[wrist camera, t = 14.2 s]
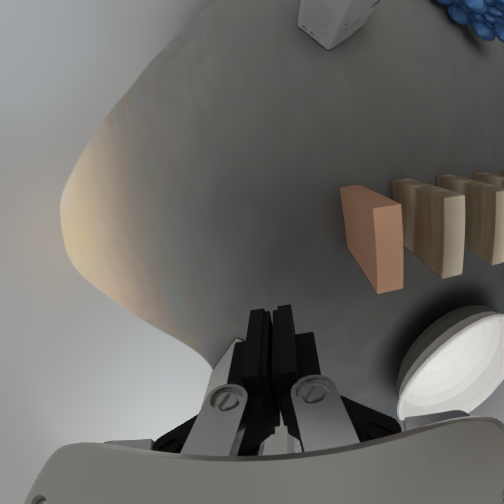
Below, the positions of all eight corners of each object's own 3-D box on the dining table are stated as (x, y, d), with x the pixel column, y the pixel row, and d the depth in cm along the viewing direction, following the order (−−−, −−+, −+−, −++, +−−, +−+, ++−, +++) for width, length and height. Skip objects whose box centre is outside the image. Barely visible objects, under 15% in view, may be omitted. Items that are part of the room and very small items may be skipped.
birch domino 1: (408, 178, 24) (464, 195, 15) (411, 235, 26) (461, 273, 17) (391, 180, 25) (443, 198, 15) (395, 237, 27) (442, 279, 17)
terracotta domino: (346, 246, 27) (377, 294, 18) (339, 187, 25) (372, 208, 16) (365, 243, 27) (403, 288, 18) (359, 184, 25) (401, 204, 16)
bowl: (402, 406, 35) (415, 445, 28) (359, 338, 31) (376, 387, 23) (494, 343, 30) (519, 373, 22) (479, 254, 26) (518, 282, 18)
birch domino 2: (449, 174, 23) (510, 190, 14) (451, 228, 25) (506, 261, 16) (435, 175, 24) (495, 191, 14) (437, 230, 26) (491, 265, 16)
